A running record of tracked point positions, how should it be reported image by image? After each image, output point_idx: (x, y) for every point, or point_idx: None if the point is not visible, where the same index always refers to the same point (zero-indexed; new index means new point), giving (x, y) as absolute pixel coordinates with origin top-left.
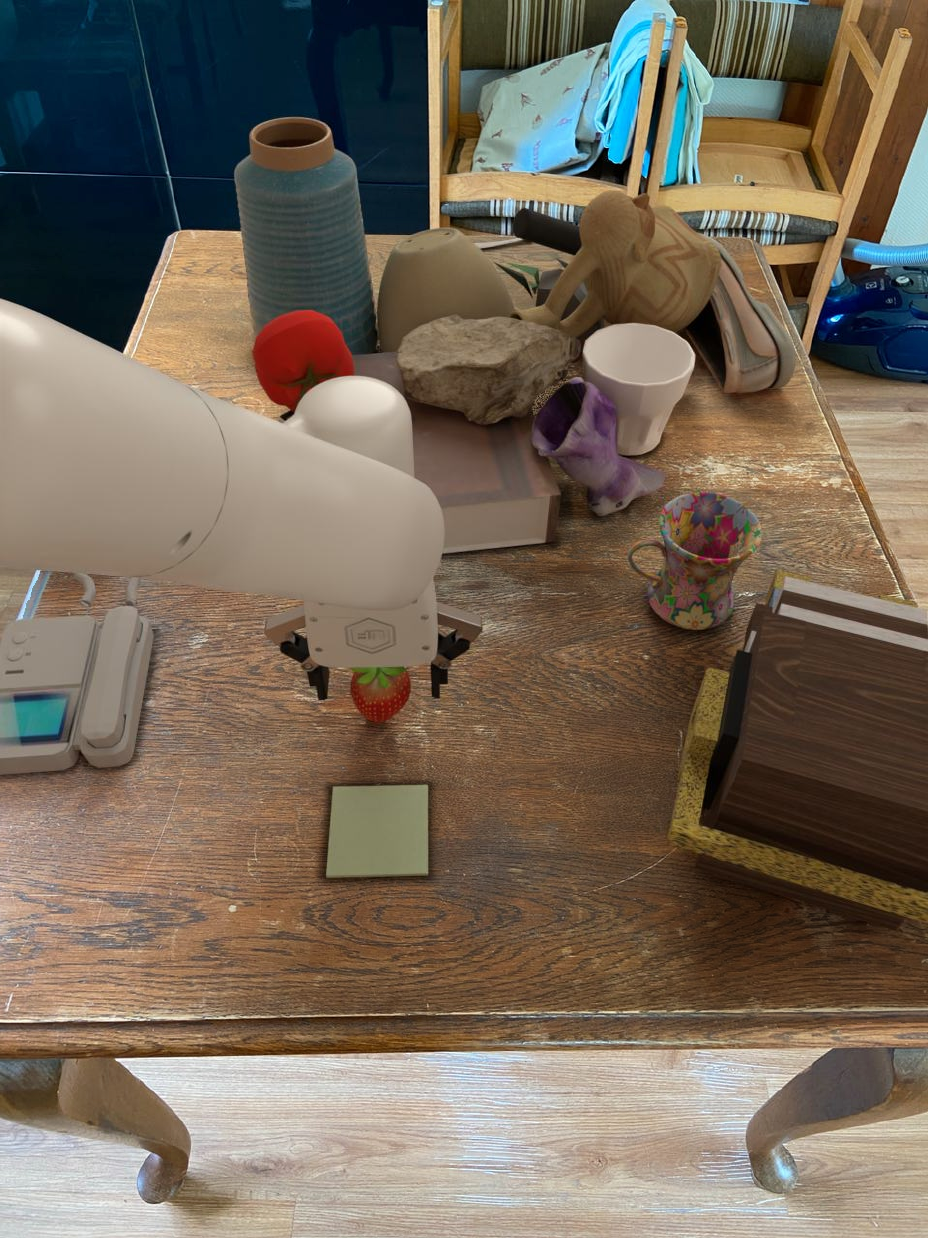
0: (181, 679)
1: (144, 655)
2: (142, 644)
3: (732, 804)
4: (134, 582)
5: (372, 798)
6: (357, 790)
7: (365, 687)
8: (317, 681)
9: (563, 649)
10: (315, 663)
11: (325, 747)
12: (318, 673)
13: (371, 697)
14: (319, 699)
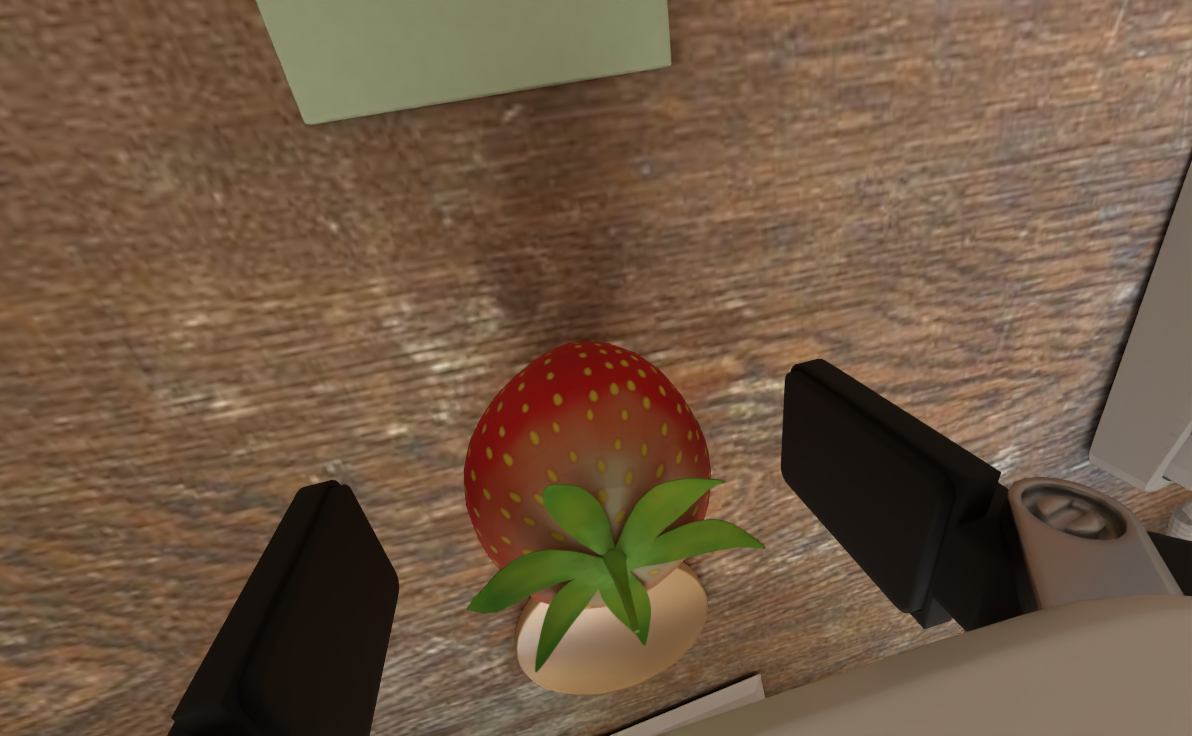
0: (1048, 368)
1: (1168, 402)
2: (1190, 427)
3: None
4: None
5: (512, 20)
6: (579, 56)
7: (657, 459)
8: (921, 432)
9: (101, 690)
10: (1065, 551)
11: (711, 239)
12: (975, 481)
13: (616, 416)
14: (822, 362)
